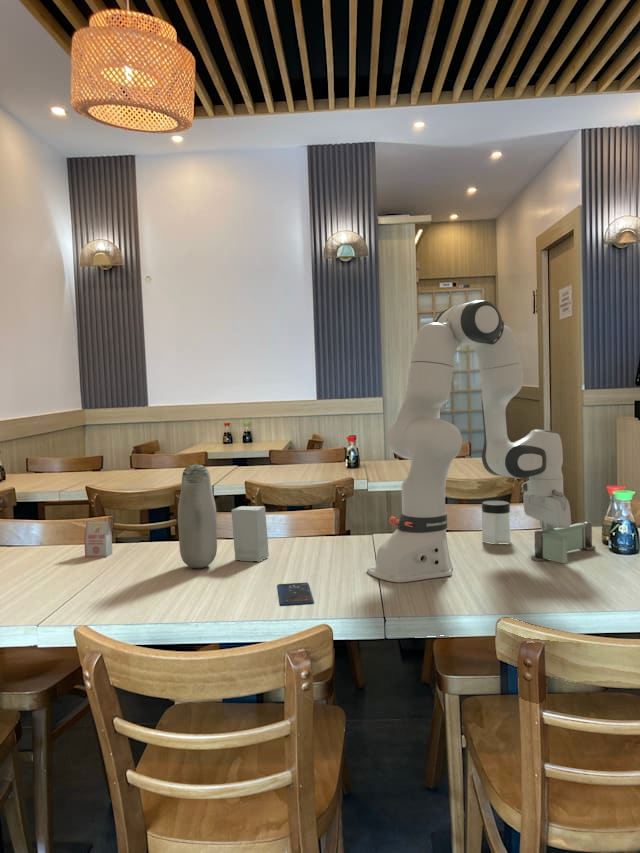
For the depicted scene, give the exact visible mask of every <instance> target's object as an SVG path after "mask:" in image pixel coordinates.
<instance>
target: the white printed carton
mask: <svg viewBox="0 0 640 853" xmlns="http://www.w3.org/2000/svg"><path fill="white" fill-rule="evenodd" d="M85 524H86V526H85V531H84V536H83V537H84V542H83V543H84V557H85V558H108V557H110V556H112V555H113V536H112V531H111V528H110V526H109V525H110V524H109V521H107V522H106V521H105V522H103V521H100V522H99V521H97V522H95V521H94V522H93V521H88V522H86V523H85Z"/></svg>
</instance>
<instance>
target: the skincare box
mask: <svg viewBox="0 0 640 853" xmlns="http://www.w3.org/2000/svg"><path fill="white" fill-rule="evenodd" d="M231 520H232V535H233V536H232V537H233V547H234V548H233V549H234V551H233V552H234V561H236V560H240V562H253V561H257V562H256V563H259V562H260V561H261V560H262V561H264V560H266V559H265V558H267V557H268V556H270V554H269V541H268V528H267V513H266V506H264V505H262V506H261V505H260V506H259V505H258V506H255V505H254V506H253V505H252V506H249V505H247V506H246V505H241V506H238V507H235V508H232V509H231ZM268 558H269V557H268ZM268 558H267V559H268ZM263 559H264V560H263ZM262 561H261V562H262Z"/></svg>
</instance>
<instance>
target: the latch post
mask: <svg viewBox="0 0 640 853" xmlns="http://www.w3.org/2000/svg"><path fill="white" fill-rule="evenodd" d="M542 533H545V532H544V531H542V530H536V531H534V554H533V555H531V557H530V558H531V559H530V560H532V561H535V562H543V561H545V562H549V559H545V558H543V537H542ZM543 563H544V562H543Z"/></svg>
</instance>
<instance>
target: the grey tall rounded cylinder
mask: <svg viewBox="0 0 640 853" xmlns="http://www.w3.org/2000/svg"><path fill="white" fill-rule="evenodd" d="M180 486H181V487H180V488H181V489H180V495H179V500H178V505H177V526H178V539H179V540H178V544H179V554H180V557H181V560H182V562H183V563H184V564H185V565H186V566H187V567H189V568H193V569H203V568H206V567H208V566H210V565H211V564H212V563H213V561H214V560H215V558H216V556H217V551H218V537H217V536H218V534H217V533H218V531H217V528H218V526H217V525H218V524H217V521H218V520H217V507H216V501H215V496H214V493H213V489H212V482H211V474H210V472H209V470H208V468H207V467H206V466H204V465H202V464H195V463H194V464H190V465H188V466H187V467H185V469H183V472H182V474H181V485H180Z"/></svg>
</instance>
